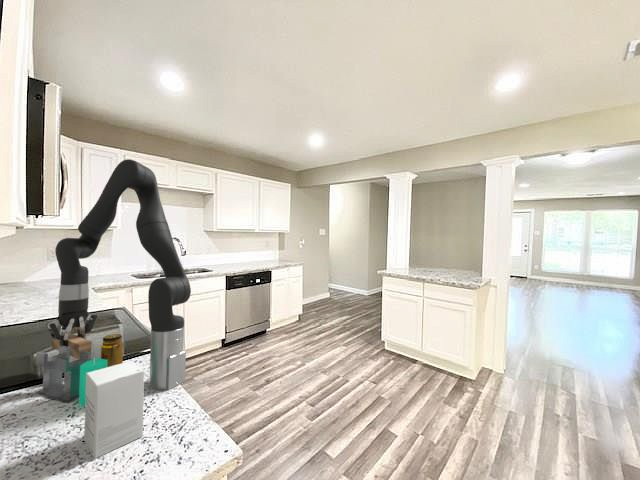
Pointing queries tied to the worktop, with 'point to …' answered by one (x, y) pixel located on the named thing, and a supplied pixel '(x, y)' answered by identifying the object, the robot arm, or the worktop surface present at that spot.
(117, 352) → the condiment
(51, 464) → the worktop surface
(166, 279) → the robot arm
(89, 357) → the rack
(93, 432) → the supplement box
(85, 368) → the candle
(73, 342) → the rail
